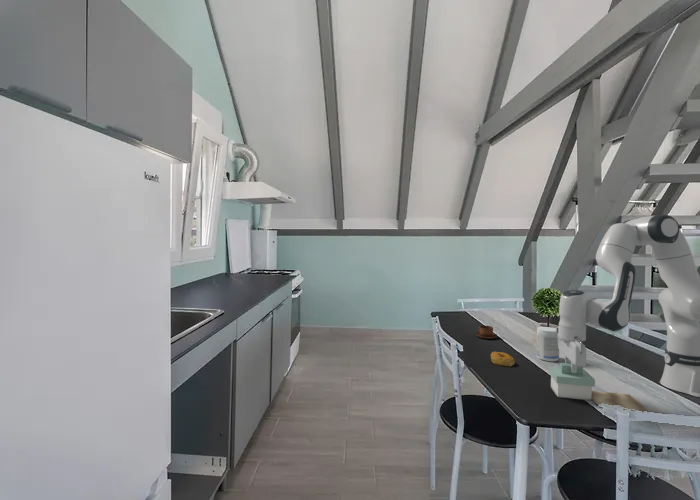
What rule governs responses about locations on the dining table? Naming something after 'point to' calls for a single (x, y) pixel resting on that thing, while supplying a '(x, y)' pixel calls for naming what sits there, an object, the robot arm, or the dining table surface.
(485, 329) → the cup and saucer
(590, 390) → the storage box
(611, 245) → the robot arm
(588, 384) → the lid
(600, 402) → the cork mat
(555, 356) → the supplement tub
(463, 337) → the dining table surface
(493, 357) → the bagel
